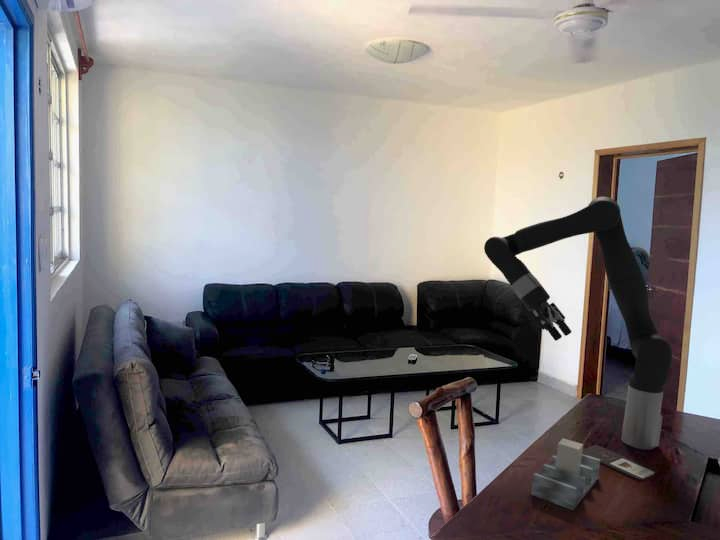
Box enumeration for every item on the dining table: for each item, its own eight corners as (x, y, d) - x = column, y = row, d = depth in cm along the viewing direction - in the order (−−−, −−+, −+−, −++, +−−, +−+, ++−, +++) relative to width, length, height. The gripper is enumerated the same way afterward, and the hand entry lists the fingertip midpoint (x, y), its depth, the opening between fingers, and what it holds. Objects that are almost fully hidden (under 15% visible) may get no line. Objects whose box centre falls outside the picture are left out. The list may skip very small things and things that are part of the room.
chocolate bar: (596, 444, 171) (657, 471, 156) (595, 447, 171) (656, 474, 156) (577, 451, 165) (639, 479, 151) (577, 454, 165) (638, 482, 151)
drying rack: (531, 494, 141) (533, 474, 140) (559, 465, 157) (561, 447, 156) (572, 510, 135) (575, 489, 134) (598, 478, 151) (600, 459, 150)
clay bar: (553, 481, 146) (558, 443, 144) (558, 475, 149) (562, 438, 147) (574, 488, 143) (579, 449, 141) (578, 482, 146) (583, 444, 145)
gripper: (530, 286, 169) (566, 333, 164) (548, 282, 180) (582, 325, 175) (511, 301, 173) (545, 348, 168) (529, 296, 184) (562, 339, 179)
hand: (564, 336), depth 171 cm, fingers open, 8 cm apart
